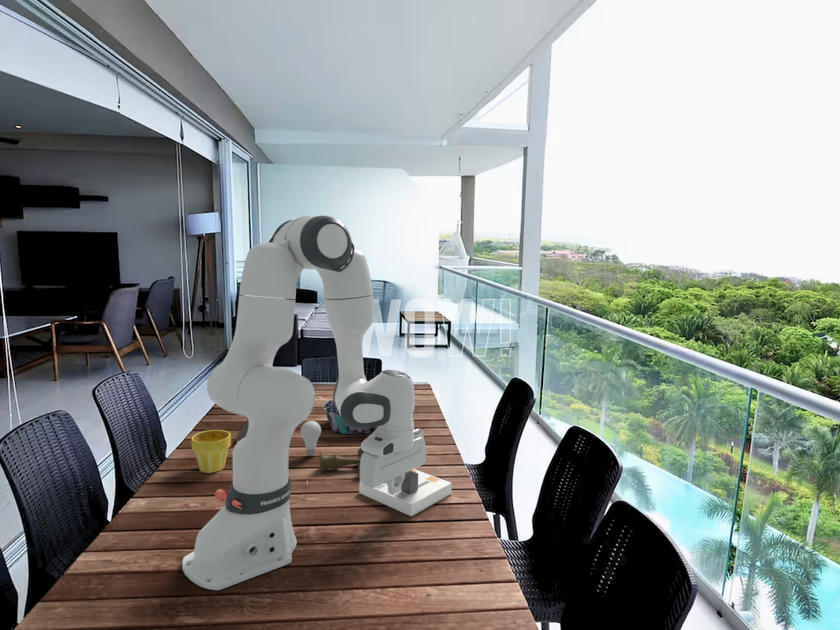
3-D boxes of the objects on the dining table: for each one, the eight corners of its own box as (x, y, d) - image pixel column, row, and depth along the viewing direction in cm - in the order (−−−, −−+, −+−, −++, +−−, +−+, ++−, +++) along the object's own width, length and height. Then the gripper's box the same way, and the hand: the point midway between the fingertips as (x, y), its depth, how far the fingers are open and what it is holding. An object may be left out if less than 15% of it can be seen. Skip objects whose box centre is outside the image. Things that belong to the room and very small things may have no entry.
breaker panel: (411, 516, 123) (411, 504, 122) (359, 493, 134) (359, 481, 134) (451, 493, 135) (451, 482, 135) (400, 474, 146) (400, 463, 146)
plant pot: (211, 479, 140) (210, 444, 139) (184, 471, 145) (183, 438, 143) (239, 465, 150) (238, 433, 149) (212, 459, 154) (212, 427, 153)
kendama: (321, 465, 153) (388, 462, 155) (318, 480, 143) (390, 476, 145) (320, 446, 152) (388, 443, 154) (317, 459, 142) (390, 456, 144)
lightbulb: (316, 460, 154) (316, 425, 153) (297, 458, 156) (297, 423, 154) (324, 453, 160) (324, 419, 159) (305, 451, 161) (305, 417, 160)
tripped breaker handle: (410, 494, 127) (410, 477, 127) (401, 490, 129) (401, 473, 129) (417, 490, 129) (418, 473, 129) (408, 486, 131) (409, 470, 131)
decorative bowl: (406, 439, 180) (409, 411, 179) (328, 441, 170) (331, 412, 169) (384, 417, 204) (386, 392, 203) (314, 418, 193) (316, 392, 193)
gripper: (413, 424, 133) (412, 475, 135) (355, 445, 118) (355, 502, 119) (432, 429, 129) (431, 482, 131) (375, 452, 114) (374, 511, 115)
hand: (394, 492), depth 125 cm, fingers closed
